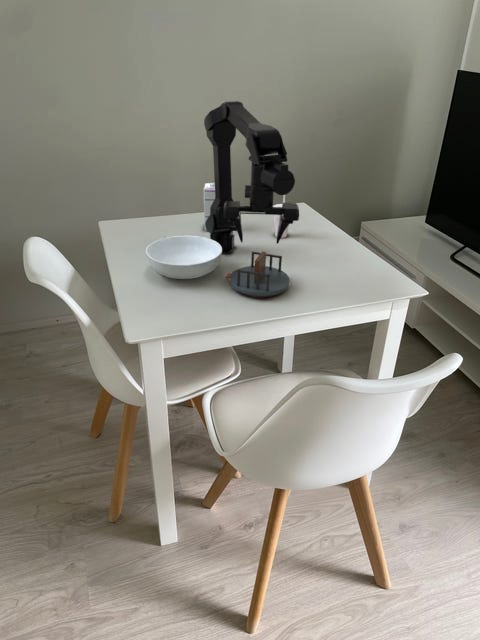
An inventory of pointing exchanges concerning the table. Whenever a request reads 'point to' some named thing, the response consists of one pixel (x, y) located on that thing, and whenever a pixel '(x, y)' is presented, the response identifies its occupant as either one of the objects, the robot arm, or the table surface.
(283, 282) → the drying rack
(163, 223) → the table surface
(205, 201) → the syrup box
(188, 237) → the serving bowl
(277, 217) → the smoothie
